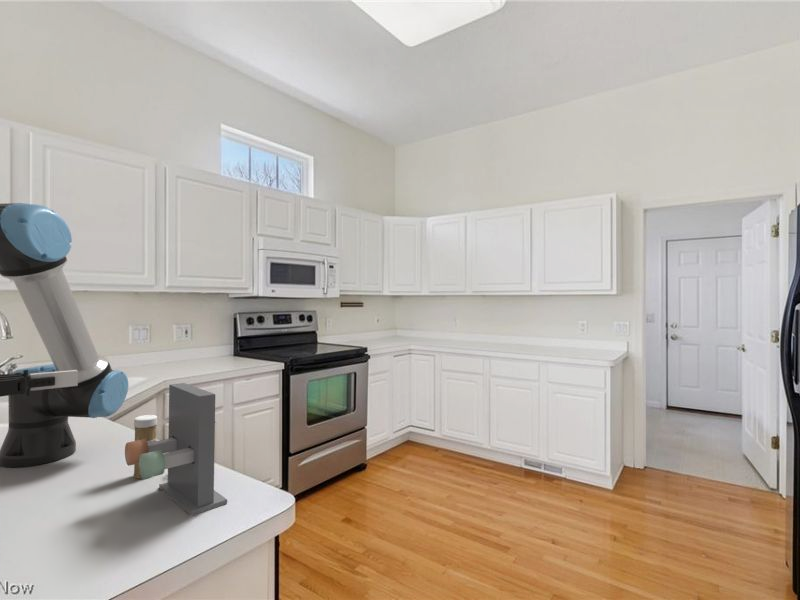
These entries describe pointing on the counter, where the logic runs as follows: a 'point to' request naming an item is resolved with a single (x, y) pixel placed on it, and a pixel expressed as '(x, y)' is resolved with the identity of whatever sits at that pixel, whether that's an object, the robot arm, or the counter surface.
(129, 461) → the rust button
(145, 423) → the spice jar
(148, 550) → the counter surface
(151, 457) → the sage button
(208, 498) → the button panel
